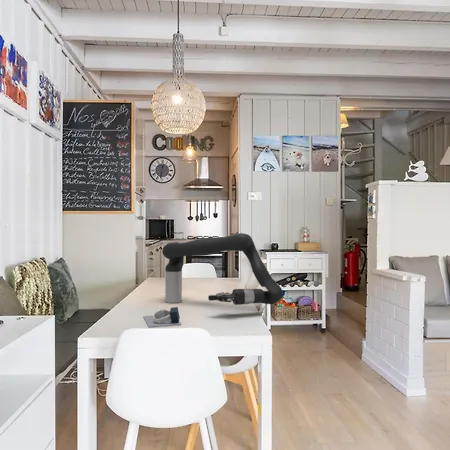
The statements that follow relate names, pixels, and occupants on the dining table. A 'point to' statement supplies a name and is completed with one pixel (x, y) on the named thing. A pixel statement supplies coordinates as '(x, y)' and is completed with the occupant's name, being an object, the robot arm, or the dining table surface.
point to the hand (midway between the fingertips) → (208, 298)
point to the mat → (151, 323)
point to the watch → (162, 314)
